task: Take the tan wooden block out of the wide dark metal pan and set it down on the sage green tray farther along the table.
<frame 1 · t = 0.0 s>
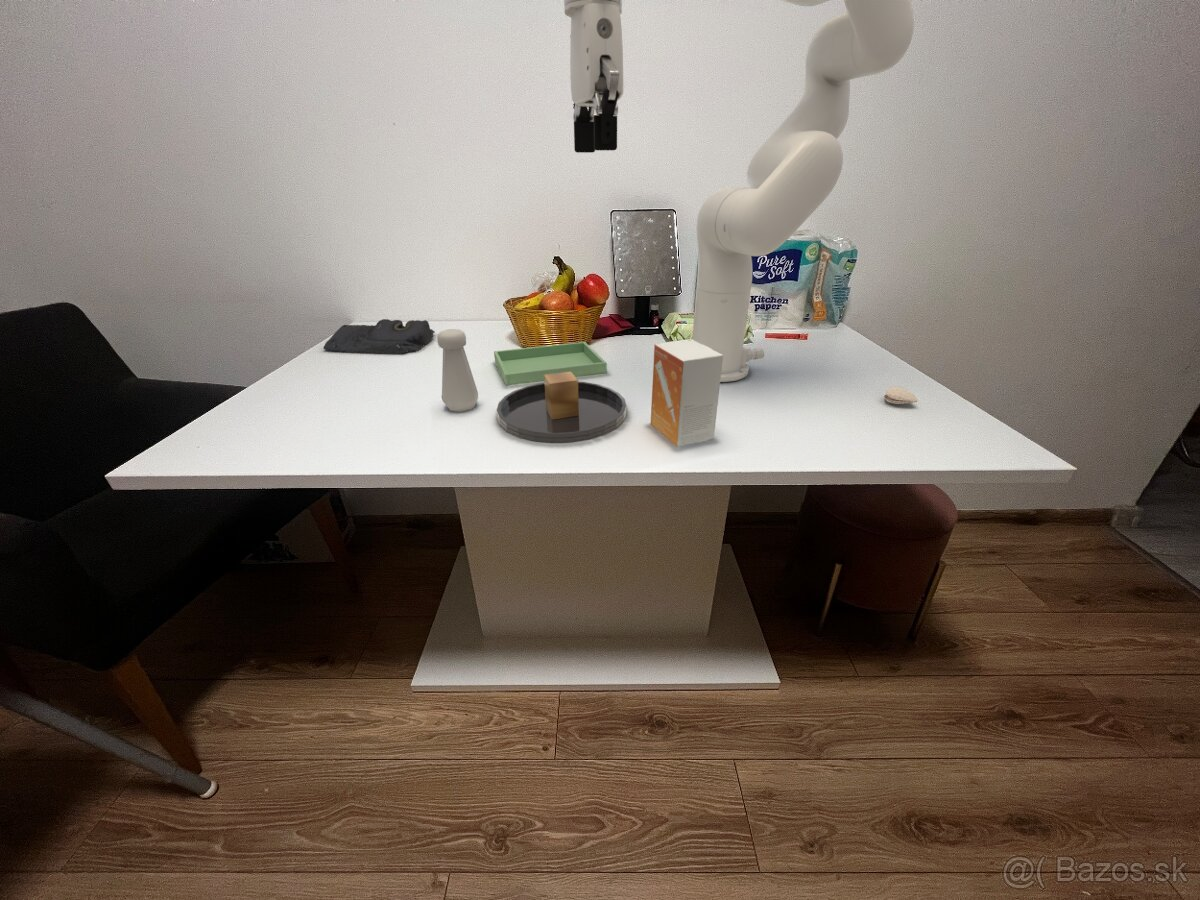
hand: (594, 151, 74), 37 cm above the table, tool pointing down, fingers open, 9 cm apart
tray: (549, 368, 101), on the table
salt shaker: (462, 410, 84), on the table
small box: (680, 435, 76), on the table
beige pistachio shell: (899, 405, 84), on the table
pan: (562, 415, 81), on the table
block: (562, 412, 81), resting on pan
dark crumpled cloth: (382, 343, 117), on the table
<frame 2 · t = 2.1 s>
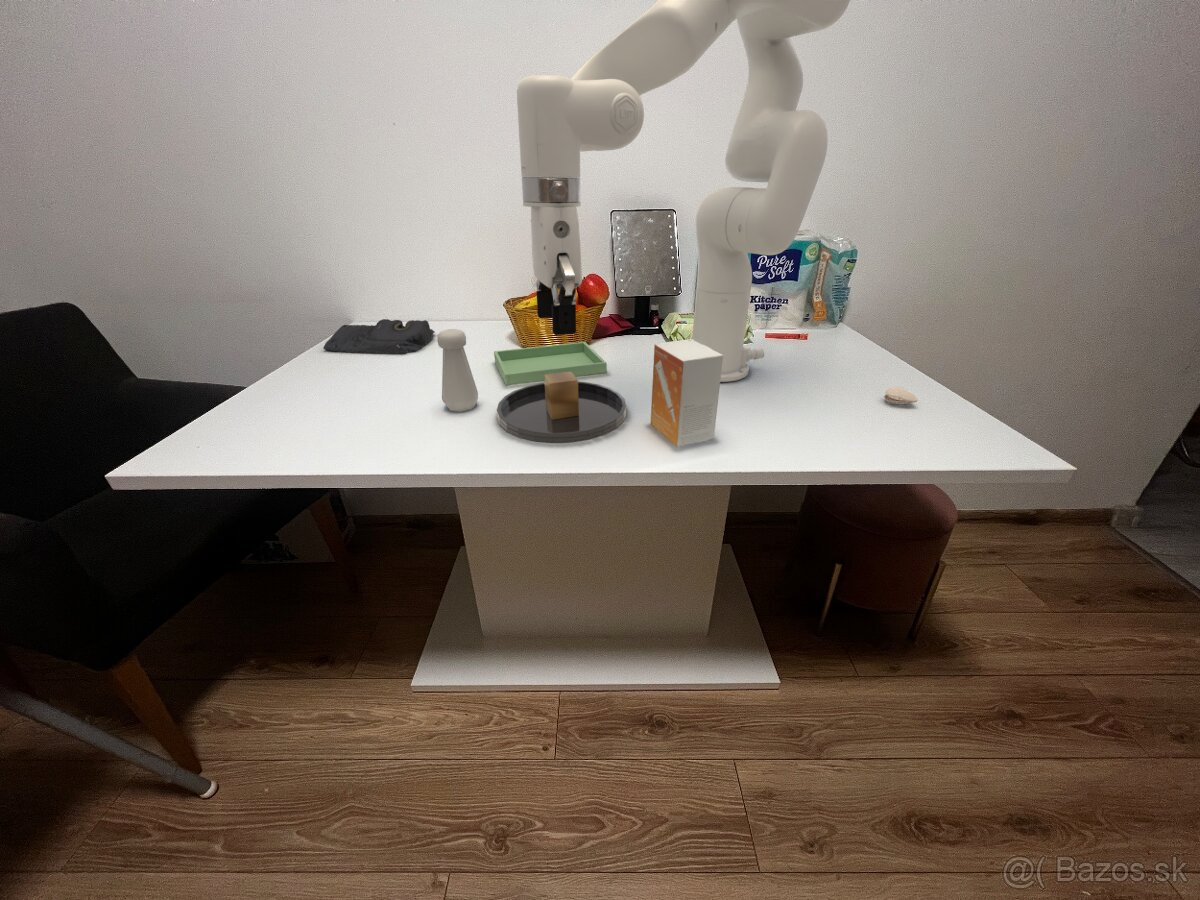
hand: (555, 325, 74), 15 cm above the table, tool pointing down, fingers open, 9 cm apart
nothing on the table moved.
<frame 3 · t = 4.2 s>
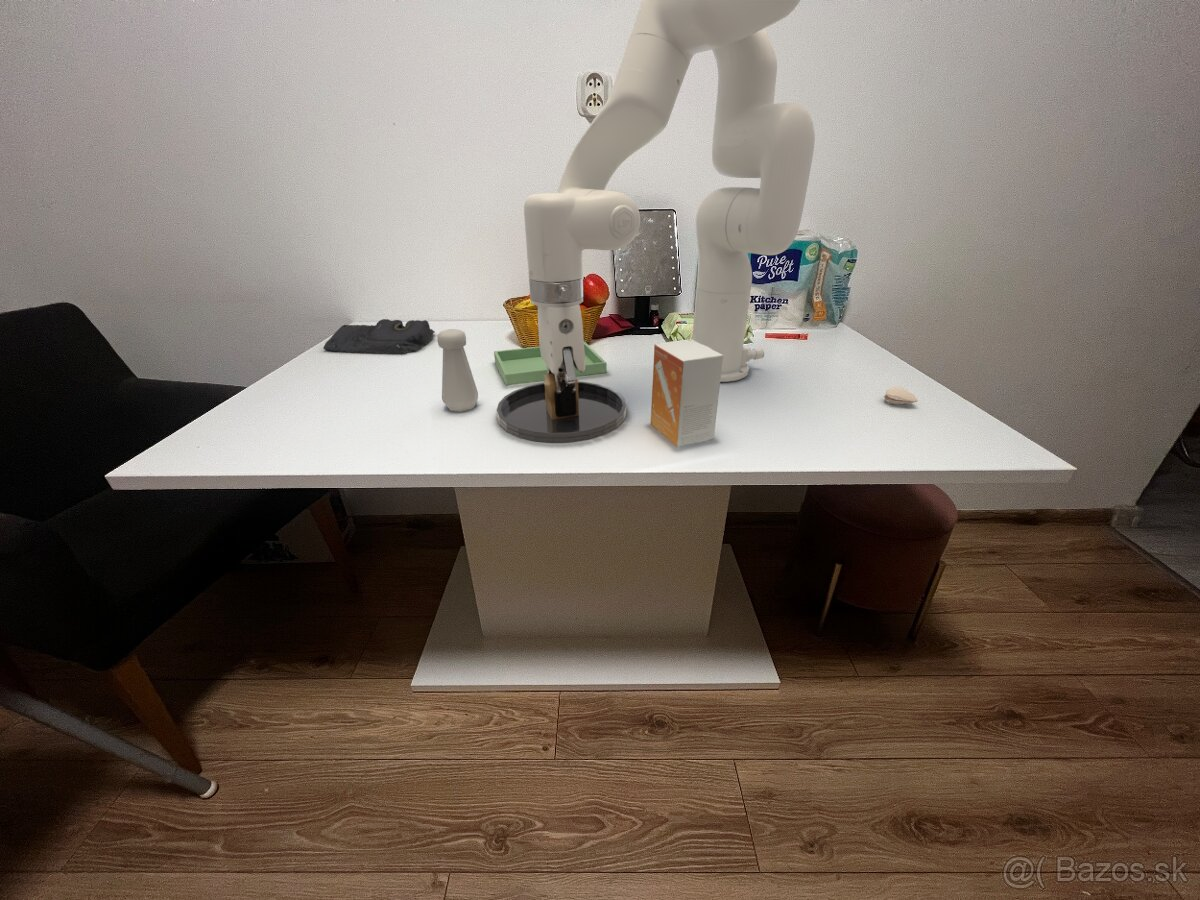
hand: (562, 408, 81), 1 cm above the table, tool pointing down, fingers closed on block, 4 cm apart
block: (562, 412, 81), point 1 cm above the table, touching gripper, pan
everything else where it was.
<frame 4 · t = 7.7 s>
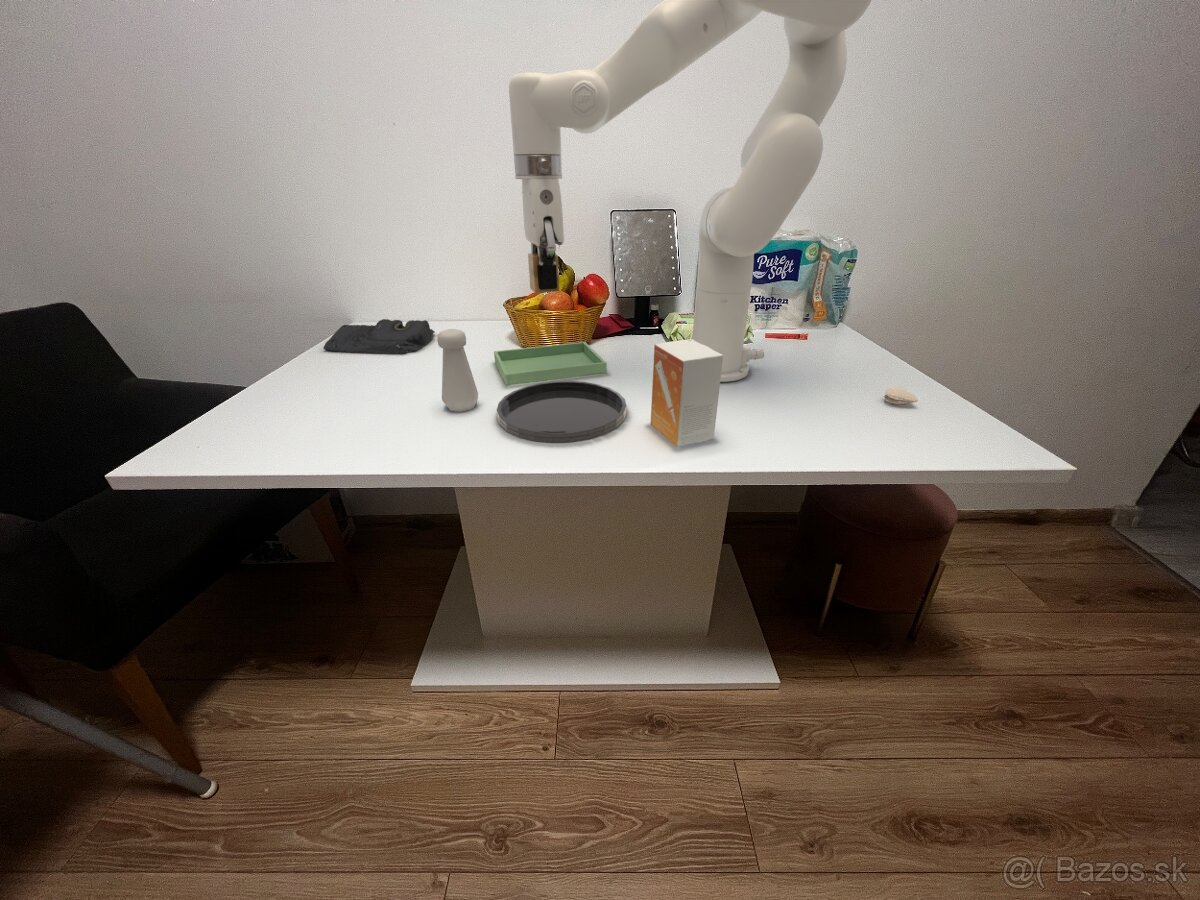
hand: (544, 285, 90), 16 cm above the table, tool pointing down, fingers closed on block, 4 cm apart
block: (544, 289, 91), point 16 cm above the table, touching gripper
everything else where it was.
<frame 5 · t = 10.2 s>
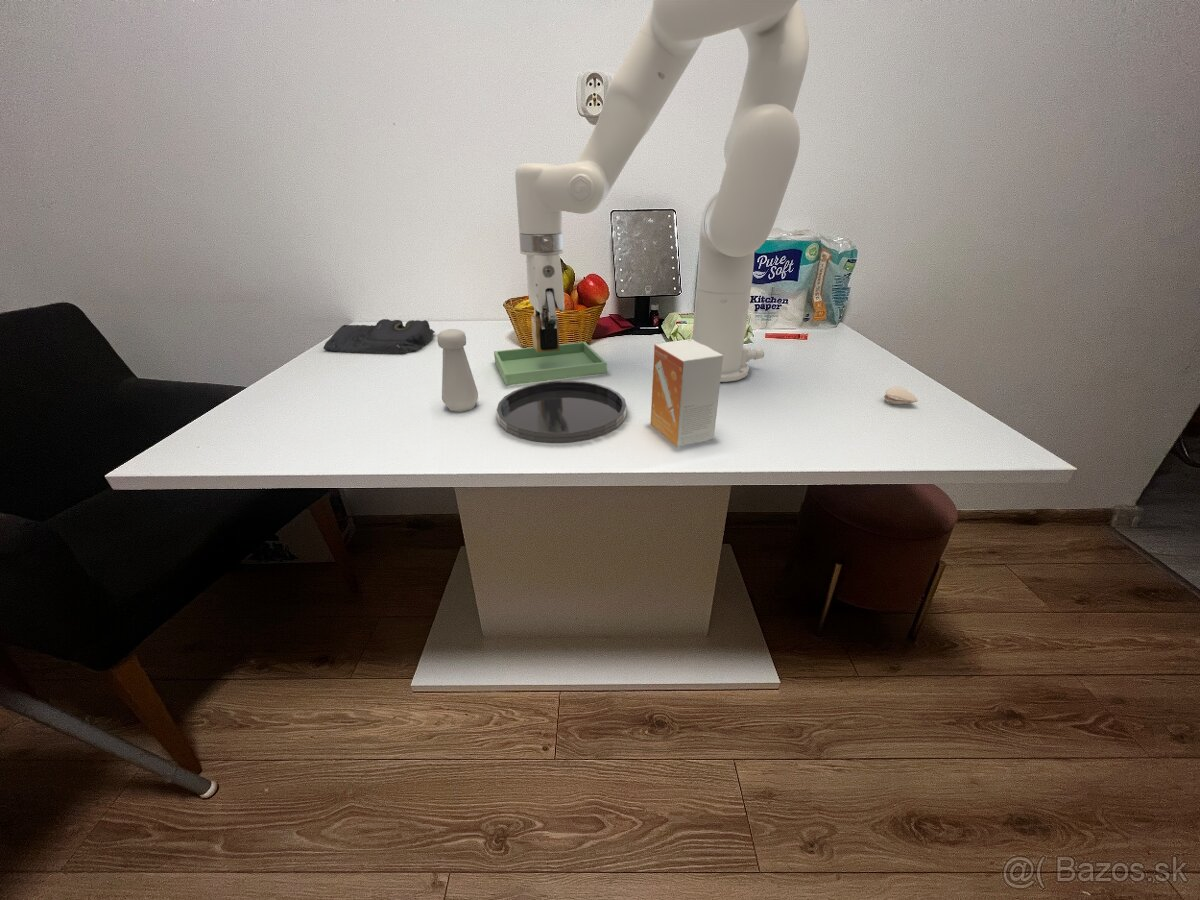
hand: (546, 344, 98), 5 cm above the table, tool pointing down, fingers closed on block, 4 cm apart
block: (546, 348, 99), point 4 cm above the table, touching gripper
everything else where it was.
when the fingers open (1 cm above the table, at t = 11.5 s): block stays where it is, resting on tray.
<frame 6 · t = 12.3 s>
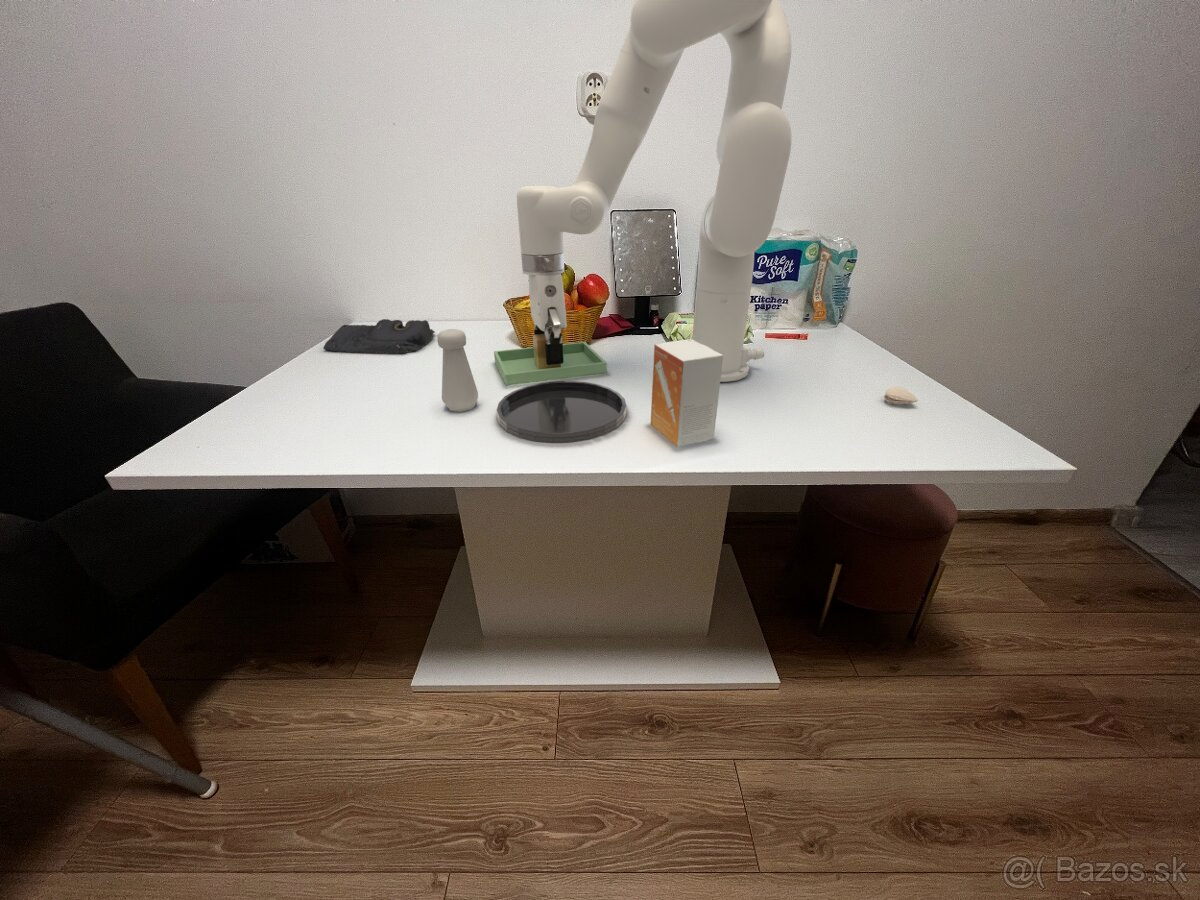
hand: (548, 355, 99), 3 cm above the table, tool pointing down, fingers open, 9 cm apart
block: (547, 366, 100), resting on tray
everything else where it was.
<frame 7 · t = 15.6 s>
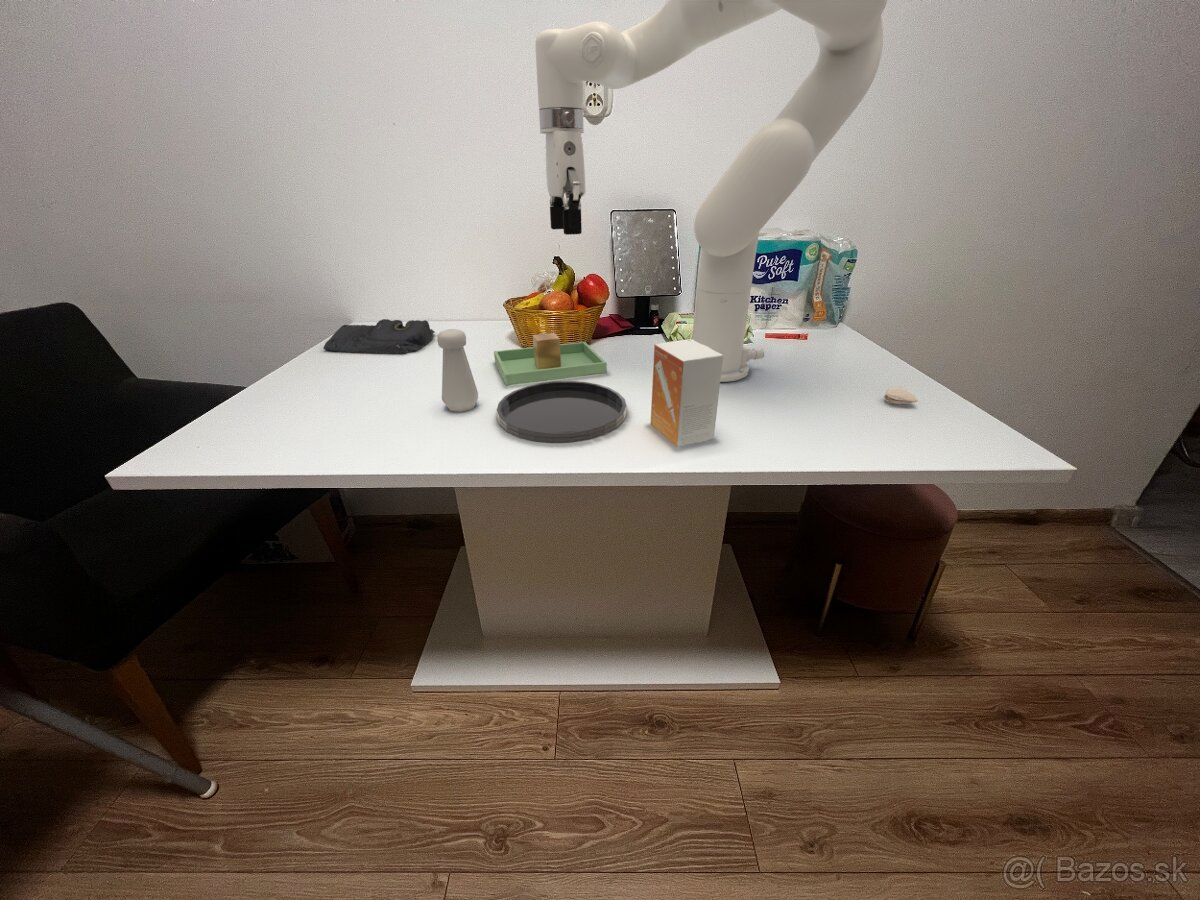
hand: (565, 231, 95), 24 cm above the table, tool pointing down, fingers open, 9 cm apart
nothing on the table moved.
at the end: block inside the target area in the tray (0.2 cm from its centre), point 0.5 cm above the tray's base; the gripper is holding nothing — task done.
